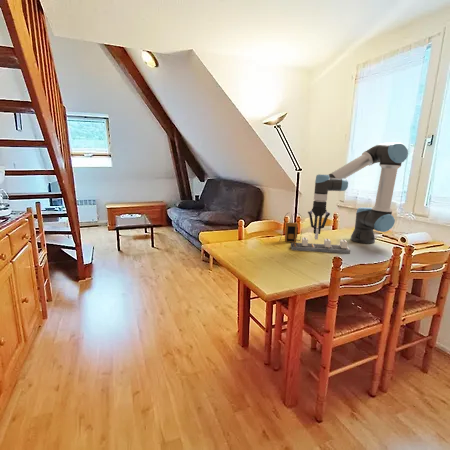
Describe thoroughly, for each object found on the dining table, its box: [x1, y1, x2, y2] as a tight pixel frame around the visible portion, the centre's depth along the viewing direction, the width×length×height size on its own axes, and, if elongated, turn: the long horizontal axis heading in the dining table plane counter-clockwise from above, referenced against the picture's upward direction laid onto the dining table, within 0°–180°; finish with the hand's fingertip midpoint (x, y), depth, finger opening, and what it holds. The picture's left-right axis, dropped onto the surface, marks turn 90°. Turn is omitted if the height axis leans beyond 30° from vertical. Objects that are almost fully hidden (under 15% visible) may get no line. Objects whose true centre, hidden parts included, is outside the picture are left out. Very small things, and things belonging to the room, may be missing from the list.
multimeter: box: [279, 212, 303, 243], centre depth 196 cm, size 15×10×20 cm
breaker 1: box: [301, 237, 309, 246], centre depth 180 cm, size 3×5×4 cm, turn 171°
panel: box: [290, 242, 351, 254], centre depth 180 cm, size 34×10×2 cm, turn 81°
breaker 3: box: [339, 239, 348, 249], centre depth 177 cm, size 3×5×4 cm, turn 171°
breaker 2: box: [323, 238, 332, 248], centre depth 178 cm, size 3×5×4 cm, turn 171°
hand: (316, 238), depth 179 cm, fingers closed
